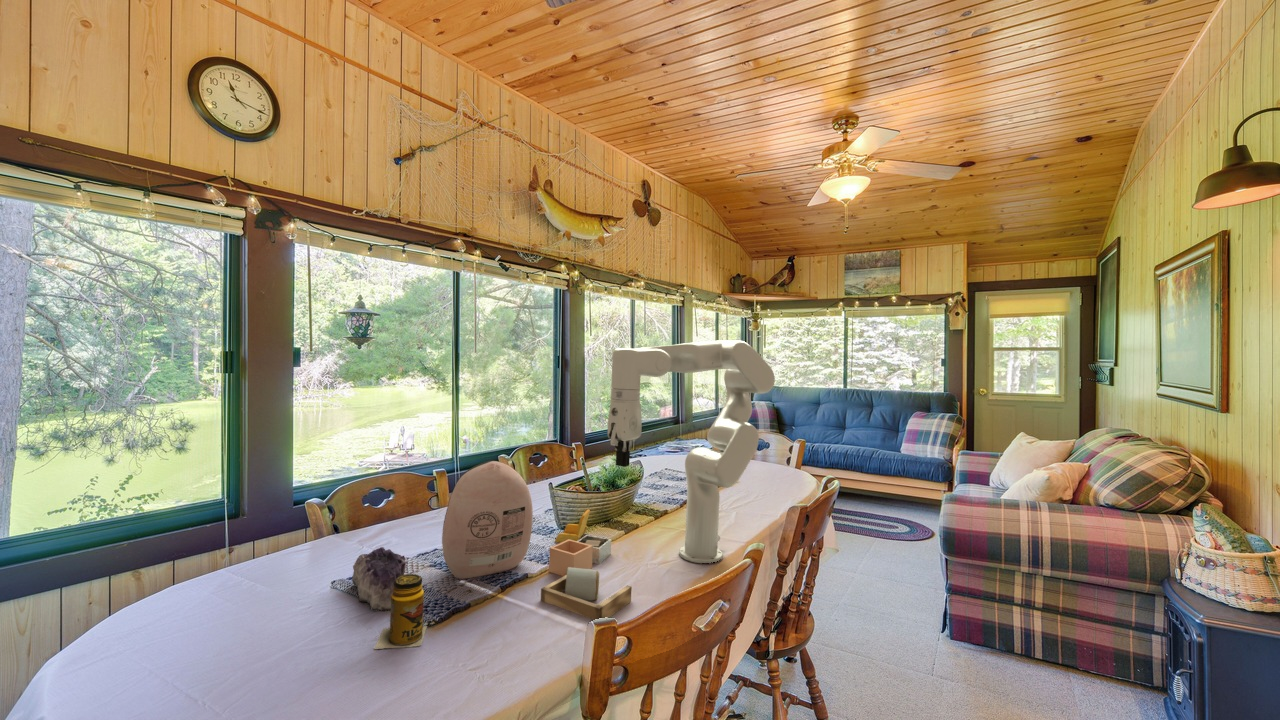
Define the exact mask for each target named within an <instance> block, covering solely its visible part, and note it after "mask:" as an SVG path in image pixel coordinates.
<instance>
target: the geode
mask: <svg viewBox="0 0 1280 720" xmlns="http://www.w3.org/2000/svg"><path fill="white" fill-rule="evenodd" d="M406 564H407V562H406V558H405V555H401V554H399V553H395V552H394V551H392V550H391V549H386V548H385V547H378V548H376V549H374V550H372V551H371V552H369V553H362V554H360V555H359V556H358V557H357V559H355V562H354V565H352V568H353V569H352V570H353V573H352V579H351V581H352V583H353V584H352V585H354V586H355V587H356V588H357V594H358V601H359V602H361V603H362V602H363V603H368V605H369V606H370V609H371V611H372V612H391V595H392V593H393V588H394V581H395V579H397V578H398V577H400V576H403V575H406V567H407V566H406Z"/></svg>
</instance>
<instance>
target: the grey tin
mask: <svg viewBox="0 0 1280 720" xmlns="http://www.w3.org/2000/svg"><path fill="white" fill-rule="evenodd" d="M587 540H594V541H601V546H600V547H599V548H597V547H593V554H592V564H596V565H600V564H601V563H602V562H604V561H605V560H606V559H607V558H608V557H609V556H610V555H611V553H612V539H611V538H606V537H600V536H595V535H589V534H585V535H584V536H581V537H580V539H579V540H578V541H577V542H581V543H586V541H587Z"/></svg>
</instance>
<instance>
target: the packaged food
mask: <svg viewBox="0 0 1280 720" xmlns="http://www.w3.org/2000/svg"><path fill="white" fill-rule="evenodd" d="M533 511H534V509H533V501H532V496H531V492H530V490H529V487H528V485H527V482H526V481H525V480H524V478H523V476H521V475H520V473H519V472H518V471H516V470H515V469H514V468H513V467H511V466H510V465H508V464H506V463H505V462H501V461H498V460H488V461H487V460H486V461H483V462H481V463H478V464H477V465H474V466H472V467H470V468H469V469H467V470H466V471H464V472H463V474H461V475H460V477H459V478H458V479H457V481H456V483H455V485H454V488H453V490H452V492H451V494H450V497H449V500H448V504H447V508H446V512H445V515H444V520H443V526H442V534H441V545H442V553H443V554H442V555H443V559H444V562H445V564H446V566H447V568H448V570H449V571H450V573H451V574H452V575H453V576H454V577H456V579H460V580H462V579H463V580H464V579H465V580H466V579H471V578H476V577H484V576H489V575H493V574H498V573H502V572H505V571H506V572H507V571H509V570H512V569H514V568H516V567H517V566H519V564H520V563H522V561H523V560H524V559H525V556H527V552H528V551H529V547H530V543H531V537H532V532H533V531H532V530H533V515H534V514H533Z"/></svg>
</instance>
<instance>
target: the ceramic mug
mask: <svg viewBox="0 0 1280 720" xmlns="http://www.w3.org/2000/svg"><path fill="white" fill-rule="evenodd" d="M599 584H600V572H599V571H598V570H596V569H593V568H592V569H581V568H572V567H568V568H567V576H566V588H565V590H564V594H567V595H570V596H573V597H576V598H579V599H582V600H585V601H588V602H591V601H597V599H598V598H599V589H600V588H599Z"/></svg>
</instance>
